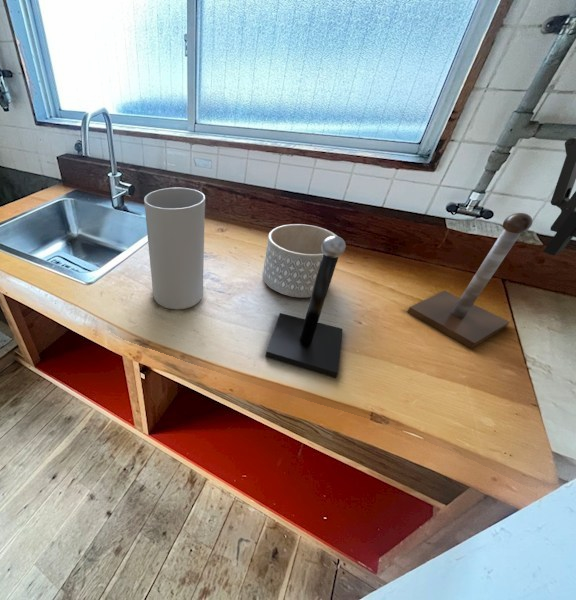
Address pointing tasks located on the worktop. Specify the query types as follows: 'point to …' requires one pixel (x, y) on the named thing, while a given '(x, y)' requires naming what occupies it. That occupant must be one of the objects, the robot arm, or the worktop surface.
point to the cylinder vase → (176, 245)
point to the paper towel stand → (472, 294)
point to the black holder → (311, 324)
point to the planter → (294, 258)
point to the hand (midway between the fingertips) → (552, 251)
